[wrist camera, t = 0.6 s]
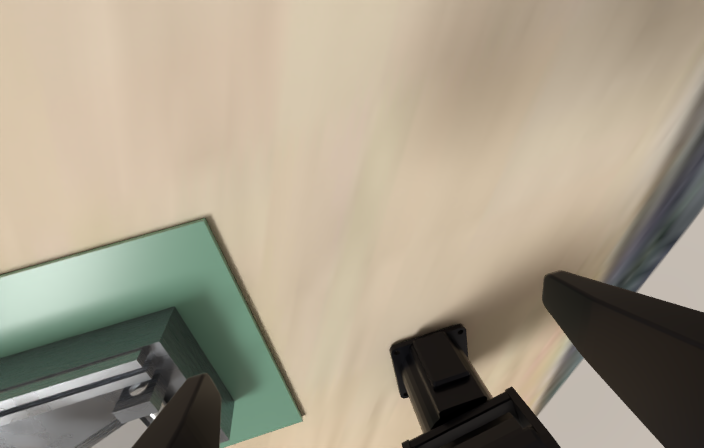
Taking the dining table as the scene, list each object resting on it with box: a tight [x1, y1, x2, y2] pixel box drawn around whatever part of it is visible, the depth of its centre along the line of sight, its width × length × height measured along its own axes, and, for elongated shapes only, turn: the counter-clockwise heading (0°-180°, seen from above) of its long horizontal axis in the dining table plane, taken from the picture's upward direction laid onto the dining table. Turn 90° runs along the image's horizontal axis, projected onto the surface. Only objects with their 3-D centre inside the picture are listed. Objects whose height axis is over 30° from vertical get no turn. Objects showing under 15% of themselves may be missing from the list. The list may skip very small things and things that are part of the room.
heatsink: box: [0, 306, 235, 448], centre depth 20 cm, size 10×16×5 cm, turn 103°
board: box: [0, 218, 303, 448], centre depth 23 cm, size 20×24×1 cm
